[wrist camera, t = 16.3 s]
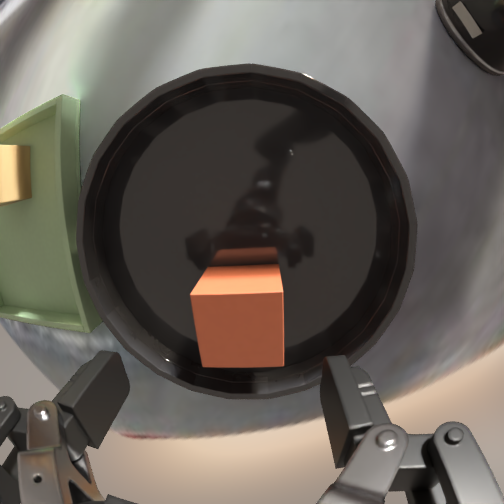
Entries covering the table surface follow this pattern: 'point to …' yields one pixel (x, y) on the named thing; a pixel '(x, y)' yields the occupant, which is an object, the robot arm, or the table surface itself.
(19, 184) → the beech block
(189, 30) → the table surface
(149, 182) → the pan
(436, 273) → the table surface
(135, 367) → the table surface
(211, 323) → the terracotta block
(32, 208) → the tray
